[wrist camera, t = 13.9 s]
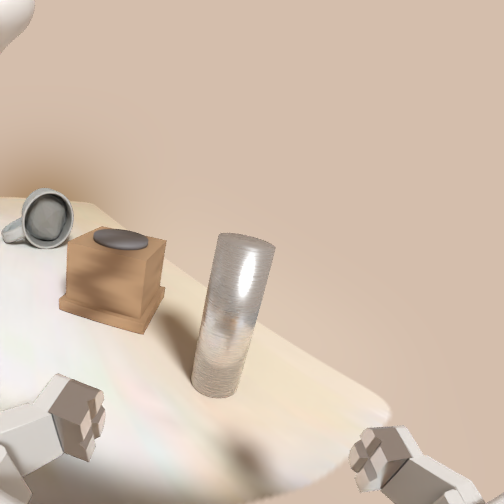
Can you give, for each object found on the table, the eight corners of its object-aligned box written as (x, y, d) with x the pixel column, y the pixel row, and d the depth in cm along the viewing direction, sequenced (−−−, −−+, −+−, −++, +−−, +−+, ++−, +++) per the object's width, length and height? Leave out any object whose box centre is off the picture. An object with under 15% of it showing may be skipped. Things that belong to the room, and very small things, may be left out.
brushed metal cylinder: (188, 393, 17) (217, 241, 15) (193, 364, 20) (220, 229, 18) (237, 401, 18) (279, 254, 15) (237, 372, 21) (271, 241, 18)
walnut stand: (59, 309, 21) (60, 237, 20) (95, 278, 29) (100, 220, 28) (143, 334, 22) (151, 259, 21) (163, 296, 30) (173, 236, 28)
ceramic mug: (61, 232, 40) (65, 184, 38) (72, 248, 35) (77, 192, 34) (1, 234, 32) (3, 182, 30) (2, 252, 27) (3, 191, 26)
